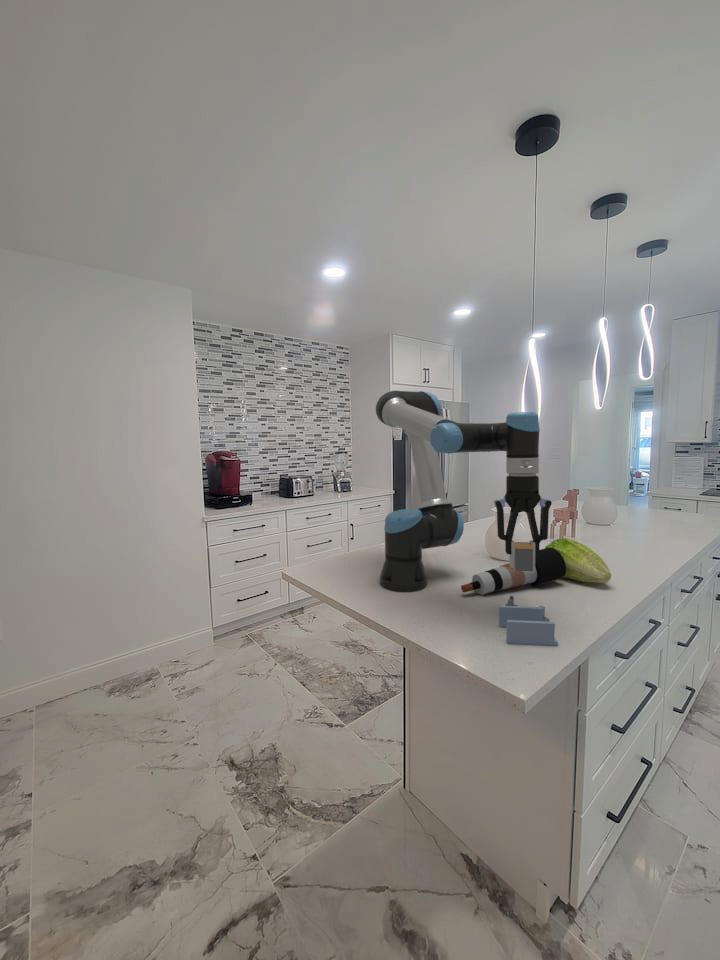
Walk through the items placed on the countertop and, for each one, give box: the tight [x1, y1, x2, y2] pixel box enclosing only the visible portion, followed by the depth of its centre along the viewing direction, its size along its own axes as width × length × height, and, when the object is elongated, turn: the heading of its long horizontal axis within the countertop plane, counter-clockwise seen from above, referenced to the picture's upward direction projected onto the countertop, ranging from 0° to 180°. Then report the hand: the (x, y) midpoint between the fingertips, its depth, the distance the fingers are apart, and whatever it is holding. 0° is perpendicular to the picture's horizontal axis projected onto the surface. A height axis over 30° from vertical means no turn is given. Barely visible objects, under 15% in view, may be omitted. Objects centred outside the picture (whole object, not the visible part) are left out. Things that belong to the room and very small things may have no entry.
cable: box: [460, 548, 566, 596], centre depth 124 cm, size 10×34×10 cm, turn 107°
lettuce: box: [544, 537, 612, 583], centre depth 131 cm, size 13×22×14 cm
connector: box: [514, 541, 533, 571], centre depth 102 cm, size 4×4×6 cm
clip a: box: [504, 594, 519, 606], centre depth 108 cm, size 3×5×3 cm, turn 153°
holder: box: [498, 605, 559, 646], centre depth 94 cm, size 11×9×5 cm
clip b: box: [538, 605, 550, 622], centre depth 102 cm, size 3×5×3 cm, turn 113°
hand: (522, 566), depth 102 cm, fingers closed on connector, 4 cm apart
